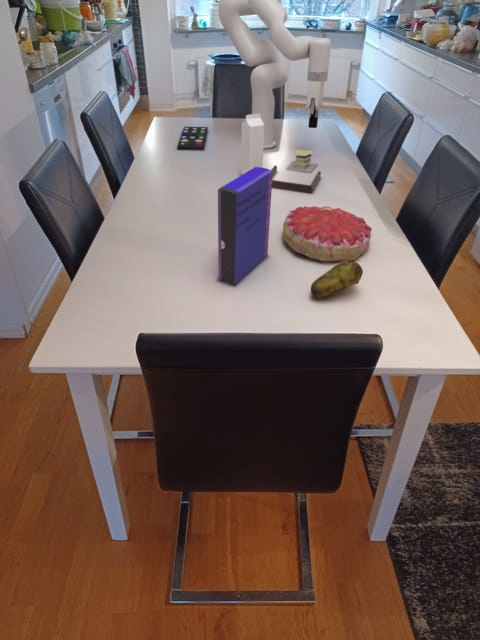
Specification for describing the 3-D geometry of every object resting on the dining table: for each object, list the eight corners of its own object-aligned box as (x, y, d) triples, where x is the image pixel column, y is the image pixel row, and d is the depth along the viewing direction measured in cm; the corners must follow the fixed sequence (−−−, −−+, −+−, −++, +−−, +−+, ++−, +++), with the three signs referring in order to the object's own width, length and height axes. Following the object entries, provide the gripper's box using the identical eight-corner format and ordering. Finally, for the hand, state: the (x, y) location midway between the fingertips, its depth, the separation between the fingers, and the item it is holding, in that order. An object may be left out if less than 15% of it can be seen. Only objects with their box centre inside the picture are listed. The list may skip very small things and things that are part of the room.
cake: (262, 238, 132) (266, 213, 127) (313, 216, 148) (318, 192, 143) (334, 276, 120) (341, 249, 115) (381, 247, 136) (389, 222, 131)
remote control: (177, 149, 198) (177, 145, 197) (184, 129, 222) (184, 125, 221) (203, 150, 198) (203, 145, 197) (207, 130, 222) (207, 125, 221)
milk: (262, 177, 174) (265, 115, 161) (248, 180, 172) (250, 117, 158) (253, 172, 178) (256, 111, 165) (240, 174, 176) (241, 112, 163)
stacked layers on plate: (309, 172, 179) (311, 158, 176) (287, 169, 182) (289, 155, 178) (316, 164, 187) (318, 150, 183) (295, 161, 189) (296, 147, 186)
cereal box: (252, 251, 129) (255, 165, 114) (267, 256, 127) (272, 169, 112) (218, 280, 117) (217, 188, 102) (234, 285, 115) (236, 193, 100)
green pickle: (304, 284, 116) (307, 256, 111) (353, 282, 117) (359, 254, 112) (311, 303, 110) (315, 274, 105) (364, 301, 111) (370, 272, 106)
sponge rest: (274, 171, 179) (274, 165, 178) (320, 178, 175) (321, 171, 173) (262, 186, 167) (263, 179, 166) (311, 193, 163) (312, 186, 161)
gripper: (311, 72, 181) (307, 122, 192) (303, 79, 170) (299, 131, 181) (330, 73, 179) (325, 123, 190) (323, 80, 168) (318, 133, 179)
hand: (312, 127), depth 185 cm, fingers closed
